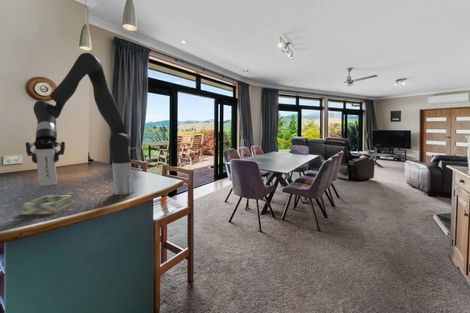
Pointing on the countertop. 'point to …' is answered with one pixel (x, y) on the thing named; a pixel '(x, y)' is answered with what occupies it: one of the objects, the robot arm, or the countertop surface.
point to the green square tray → (48, 204)
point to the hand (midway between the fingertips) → (45, 161)
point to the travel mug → (46, 164)
